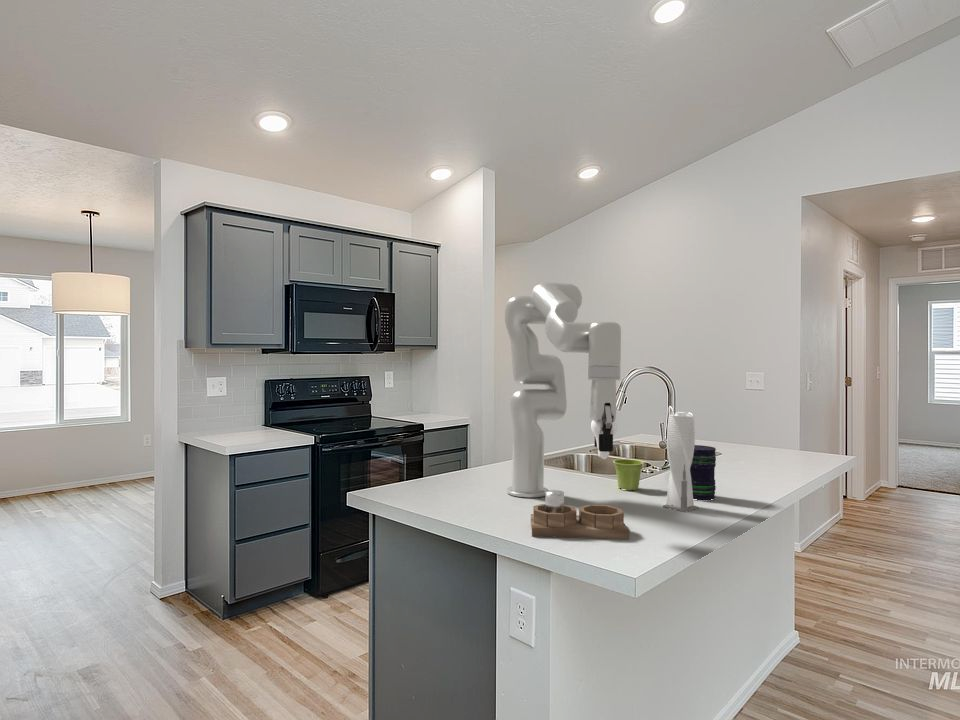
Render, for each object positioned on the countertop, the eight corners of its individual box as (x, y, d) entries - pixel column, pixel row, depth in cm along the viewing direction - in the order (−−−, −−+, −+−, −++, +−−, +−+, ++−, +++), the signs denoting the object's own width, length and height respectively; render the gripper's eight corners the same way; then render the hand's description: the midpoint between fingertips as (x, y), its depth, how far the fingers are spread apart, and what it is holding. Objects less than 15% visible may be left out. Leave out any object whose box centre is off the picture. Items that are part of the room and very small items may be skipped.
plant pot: (638, 493, 181) (638, 465, 181) (608, 489, 186) (609, 462, 186) (647, 488, 189) (647, 461, 189) (618, 484, 194) (618, 458, 194)
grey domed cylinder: (544, 518, 143) (545, 489, 143) (563, 519, 143) (563, 490, 143) (545, 523, 139) (546, 493, 139) (564, 524, 139) (564, 494, 139)
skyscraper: (657, 506, 166) (659, 406, 166) (673, 501, 171) (675, 405, 171) (685, 512, 159) (686, 408, 159) (701, 507, 164) (702, 407, 164)
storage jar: (704, 502, 170) (704, 450, 170) (674, 496, 178) (674, 446, 178) (721, 497, 177) (722, 447, 177) (691, 491, 184) (692, 444, 184)
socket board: (530, 522, 147) (530, 502, 147) (619, 524, 146) (619, 504, 146) (532, 536, 135) (532, 514, 135) (629, 539, 134) (629, 517, 134)
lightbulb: (585, 459, 141) (586, 413, 141) (599, 456, 145) (600, 411, 145) (607, 462, 137) (608, 415, 137) (621, 459, 141) (622, 413, 141)
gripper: (583, 372, 150) (582, 443, 150) (593, 374, 133) (592, 454, 133) (613, 373, 149) (612, 444, 149) (627, 374, 132) (626, 455, 132)
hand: (603, 448), depth 141 cm, fingers closed on lightbulb, 5 cm apart
